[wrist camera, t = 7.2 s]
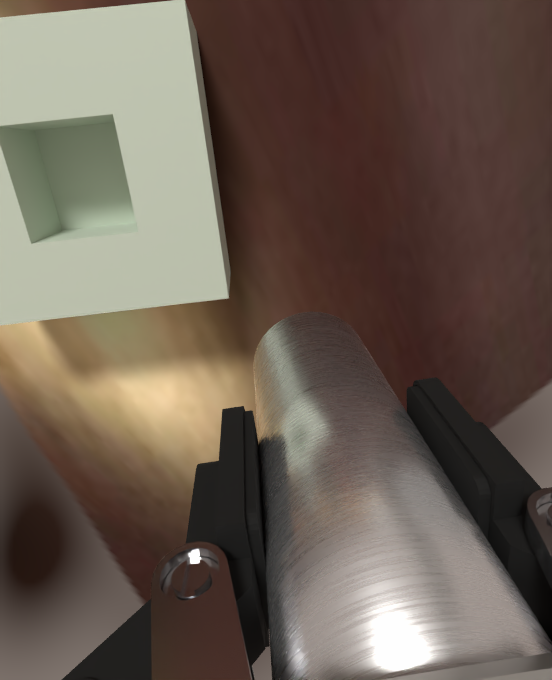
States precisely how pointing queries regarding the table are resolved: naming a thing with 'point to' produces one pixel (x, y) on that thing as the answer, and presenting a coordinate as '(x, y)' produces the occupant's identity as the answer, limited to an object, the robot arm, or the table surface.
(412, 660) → the steel peg
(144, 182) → the socket block
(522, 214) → the table surface
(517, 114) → the table surface
